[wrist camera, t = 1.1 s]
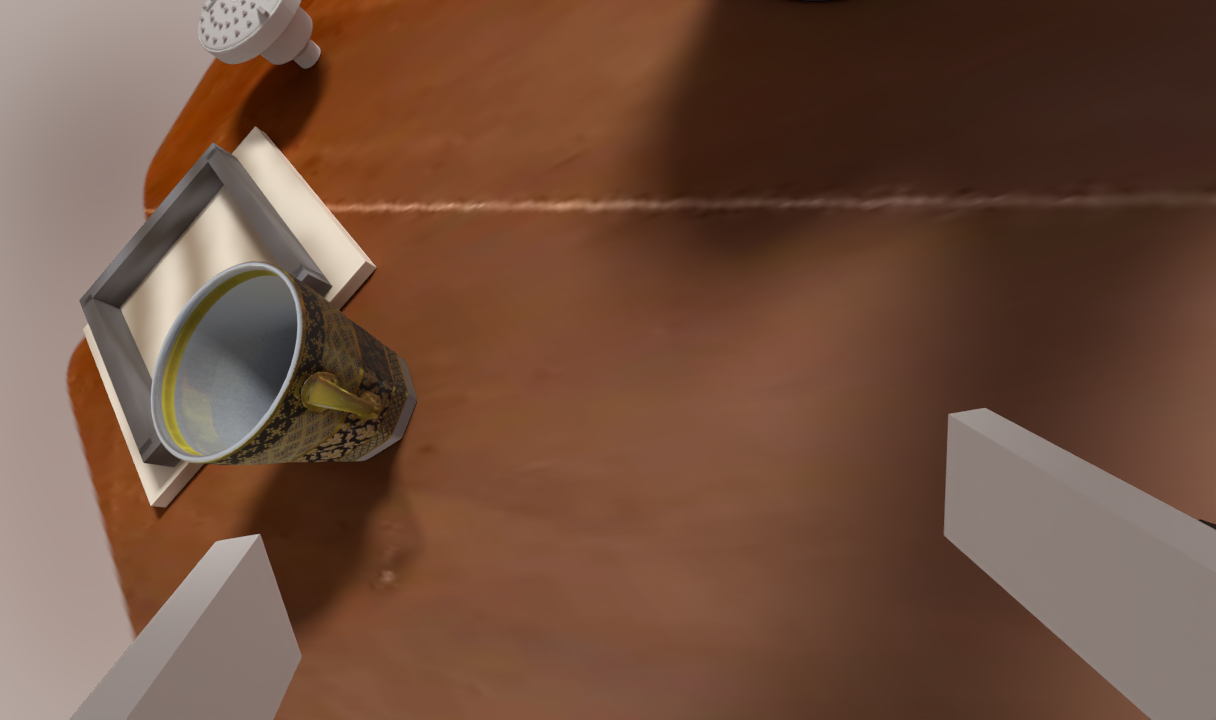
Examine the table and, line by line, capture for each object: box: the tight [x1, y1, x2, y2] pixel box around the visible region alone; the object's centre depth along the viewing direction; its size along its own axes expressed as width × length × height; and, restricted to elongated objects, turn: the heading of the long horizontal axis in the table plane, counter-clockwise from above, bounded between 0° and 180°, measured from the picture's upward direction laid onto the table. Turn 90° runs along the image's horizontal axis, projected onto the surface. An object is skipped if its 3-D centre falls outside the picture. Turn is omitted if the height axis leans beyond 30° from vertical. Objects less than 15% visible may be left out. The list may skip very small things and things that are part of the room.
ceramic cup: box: [151, 261, 417, 465], centre depth 34 cm, size 13×10×10 cm
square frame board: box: [80, 126, 377, 507], centre depth 47 cm, size 22×20×3 cm
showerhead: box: [198, 0, 321, 69], centre depth 49 cm, size 9×7×10 cm
